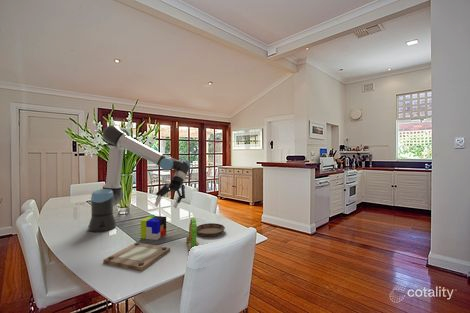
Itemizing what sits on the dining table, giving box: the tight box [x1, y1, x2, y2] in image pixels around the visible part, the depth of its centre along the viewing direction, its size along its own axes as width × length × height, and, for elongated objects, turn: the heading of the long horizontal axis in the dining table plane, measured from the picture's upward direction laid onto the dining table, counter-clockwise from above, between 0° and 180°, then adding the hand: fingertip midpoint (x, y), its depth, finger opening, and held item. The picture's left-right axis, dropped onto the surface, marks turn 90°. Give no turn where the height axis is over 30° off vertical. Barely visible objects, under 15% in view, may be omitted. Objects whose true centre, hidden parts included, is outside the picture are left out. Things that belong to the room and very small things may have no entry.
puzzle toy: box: [140, 215, 167, 241], centre depth 132 cm, size 10×10×10 cm
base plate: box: [103, 242, 171, 272], centre depth 106 cm, size 20×20×2 cm
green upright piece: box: [185, 217, 200, 252], centre depth 117 cm, size 16×5×15 cm, turn 17°
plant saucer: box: [197, 222, 226, 238], centre depth 138 cm, size 18×18×3 cm
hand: (165, 206), depth 141 cm, fingers open, 13 cm apart
